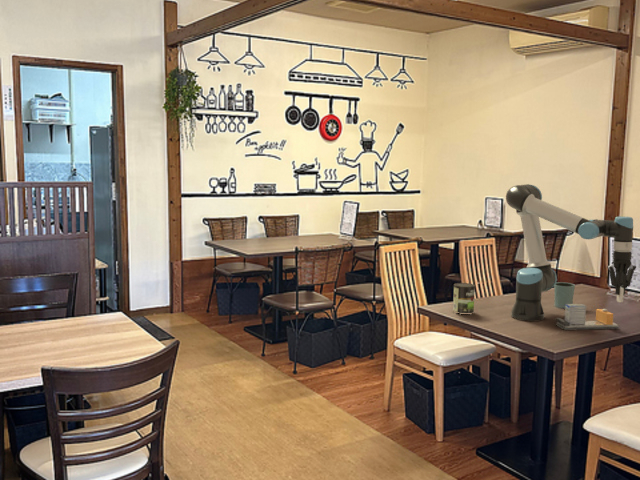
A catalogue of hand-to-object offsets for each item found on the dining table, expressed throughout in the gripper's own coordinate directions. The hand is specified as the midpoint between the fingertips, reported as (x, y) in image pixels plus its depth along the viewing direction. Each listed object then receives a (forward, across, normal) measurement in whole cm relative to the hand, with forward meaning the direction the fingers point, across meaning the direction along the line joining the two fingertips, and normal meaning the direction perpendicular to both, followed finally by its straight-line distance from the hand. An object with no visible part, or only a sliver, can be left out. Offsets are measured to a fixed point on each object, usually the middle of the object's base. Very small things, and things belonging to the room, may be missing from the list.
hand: (619, 301), depth 283 cm
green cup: (+11, -7, +38) cm, 41 cm away
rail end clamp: (+9, -7, 0) cm, 12 cm away
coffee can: (+11, -63, +31) cm, 71 cm away
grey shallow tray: (+12, -15, 0) cm, 19 cm away
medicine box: (+10, -21, 0) cm, 23 cm away
